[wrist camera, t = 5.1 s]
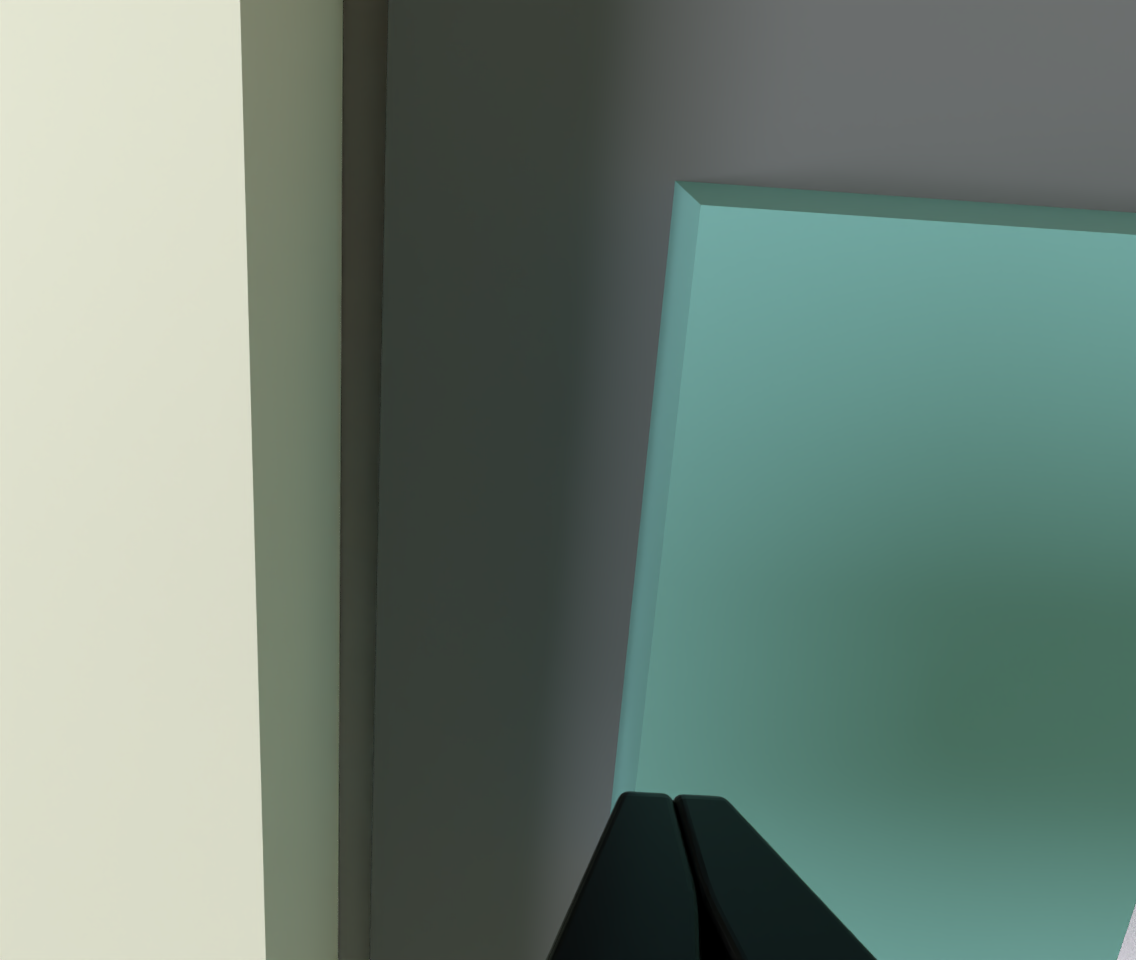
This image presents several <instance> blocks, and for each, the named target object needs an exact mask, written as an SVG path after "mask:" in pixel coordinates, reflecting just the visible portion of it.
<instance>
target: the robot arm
mask: <svg viewBox="0 0 1136 960" xmlns="http://www.w3.org/2000/svg"><path fill="white" fill-rule="evenodd" d="M546 960H877V959H876V958H875V957H874V956H873V955H872V954H871V953H870V951H869V950H868V949H867V948H866V947H865V946H864V945H863V944H862V943H861V942H860V941H859V940H858V939H857V938H856V937H855V935H854V934H853V933H852V932H851V931H850V930H849V929H848V928H847V927H846V926H845V925H844V924H843V923H842V922H841V920H840V919H839V918H838V917H837V916H836V915H835V914H834V913H833V912H832V911H831V910H830V909H829V908H828V907H827V905H826V904H825V903H824V902H823V901H822V900H821V899H820V898H819V897H818V896H817V895H816V894H815V893H814V892H813V891H812V889H811V888H810V887H809V886H808V885H807V884H806V883H805V882H804V881H803V880H802V879H801V878H800V877H799V876H798V874H797V873H796V872H795V871H794V870H793V869H792V868H791V867H790V866H789V865H788V864H787V863H786V862H785V861H784V860H783V858H782V857H781V856H780V855H779V854H778V853H777V852H776V851H775V850H774V849H773V848H772V847H771V846H770V845H769V843H768V842H767V841H766V840H765V839H764V838H763V837H762V836H761V835H760V834H759V833H758V832H757V831H756V830H755V829H754V827H753V826H752V825H751V824H750V823H749V822H748V821H747V820H746V819H745V818H744V817H743V816H742V815H741V814H740V812H739V811H738V810H737V809H736V808H735V807H734V806H733V805H732V804H731V803H730V802H729V801H728V800H727V799H725V798H723V797H721V796H711V795H691V794H679V795H677V796H676V797H675V798H674V800H672V798H671V797H670V796H668V795H667V794H665V793H653V792H634V791H626V792H623V793H622V794H621V795H620V796H619V797H618V799H617V801H616V804H615V806H614V808H613V810H612V813H611V815H610V817H609V819H608V822H607V824H606V826H605V828H604V830H603V833H602V835H601V837H600V839H599V842H598V844H597V846H596V848H595V851H594V853H593V855H592V857H591V860H590V862H589V864H588V866H587V869H586V871H585V873H584V875H583V878H582V880H581V882H580V884H579V886H578V889H577V891H576V893H575V895H574V898H573V900H572V902H571V904H570V907H569V909H568V911H567V913H566V916H565V918H564V920H563V922H562V925H561V927H560V929H559V931H558V933H557V936H556V938H555V940H554V942H553V945H552V947H551V949H550V951H549V954H548V956H547V958H546Z"/></svg>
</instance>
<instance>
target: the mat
mask: <svg viewBox="0 0 1136 960" xmlns="http://www.w3.org/2000/svg"><path fill="white" fill-rule="evenodd" d="M675 181H686V182H700V183H715V184H729V185H743V186H758V187H772V188H786V189H801V190H815V191H829V192H844V193H858V194H872V195H887V196H901V197H915V198H930V199H944V200H958V201H973V202H987V203H1002V204H1016V205H1030V206H1045V207H1059V208H1073V209H1088V210H1102V211H1116V212H1131V213H1136V0H388V46H387V98H386V149H385V201H384V253H383V304H382V356H381V408H380V459H379V511H378V563H377V615H376V666H375V718H374V770H373V821H372V873H371V925H370V960H546V958H547V956H548V954H549V951H550V949H551V947H552V945H553V942H554V940H555V938H556V936H557V933H558V931H559V929H560V927H561V925H562V922H563V920H564V918H565V916H566V913H567V911H568V909H569V907H570V904H571V902H572V900H573V898H574V895H575V893H576V891H577V889H578V886H579V884H580V882H581V880H582V878H583V875H584V873H585V871H586V869H587V866H588V864H589V862H590V860H591V857H592V855H593V853H594V851H595V848H596V846H597V844H598V842H599V839H600V837H601V835H602V833H603V830H604V828H605V826H606V824H607V822H608V819H609V817H610V811H611V801H612V792H613V782H614V772H615V762H616V753H617V743H618V733H619V723H620V714H621V704H622V694H623V684H624V675H625V665H626V655H627V645H628V636H629V626H630V616H631V606H632V597H633V587H634V577H635V567H636V558H637V548H638V538H639V528H640V519H641V509H642V499H643V489H644V480H645V470H646V460H647V450H648V441H649V431H650V421H651V411H652V401H653V392H654V382H655V372H656V362H657V353H658V343H659V333H660V323H661V314H662V304H663V294H664V284H665V275H666V265H667V255H668V245H669V236H670V226H671V216H672V206H673V197H674V187H675Z"/></svg>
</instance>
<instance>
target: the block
mask: <svg viewBox="0 0 1136 960" xmlns="http://www.w3.org/2000/svg"><path fill="white" fill-rule="evenodd" d="M626 791H634V792H653V793H665V794H667V795H668V796H670V797H671V798H672V800H674V798H675V797H676V796H677V795H679V794H691V795H711V796H721V797H723V798H725V799H727V800H728V801H729V802H730V803H731V804H732V805H733V806H734V807H735V808H736V809H737V810H738V811H739V812H740V814H741V815H742V816H743V817H744V818H745V819H746V820H747V821H748V822H749V823H750V824H751V825H752V826H753V827H754V829H755V830H756V831H757V832H758V833H759V834H760V835H761V836H762V837H763V838H764V839H765V840H766V841H767V842H768V843H769V845H770V846H771V847H772V848H773V849H774V850H775V851H776V852H777V853H778V854H779V855H780V856H781V857H782V858H783V860H784V861H785V862H786V863H787V864H788V865H789V866H790V867H791V868H792V869H793V870H794V871H795V872H796V873H797V874H798V876H799V877H800V878H801V879H802V880H803V881H804V882H805V883H806V884H807V885H808V886H809V887H810V888H811V889H812V891H813V892H814V893H815V894H816V895H817V896H818V897H819V898H820V899H821V900H822V901H823V902H824V903H825V904H826V905H827V907H828V908H829V909H830V910H831V911H832V912H833V913H834V914H835V915H836V916H837V917H838V918H839V919H840V920H841V922H842V923H843V924H844V925H845V926H846V927H847V928H848V929H849V930H850V931H851V932H852V933H853V934H854V935H855V937H856V938H857V939H858V940H859V941H860V942H861V943H862V944H863V945H864V946H865V947H866V948H867V949H868V950H869V951H870V953H871V954H872V955H873V956H874V957H875V958H876V959H877V960H1117V958H1118V955H1119V952H1120V949H1121V946H1122V943H1123V940H1124V937H1125V934H1126V931H1127V928H1128V925H1129V922H1130V919H1131V916H1132V913H1133V910H1134V907H1135V904H1136V213H1131V212H1116V211H1102V210H1088V209H1073V208H1059V207H1045V206H1030V205H1016V204H1002V203H987V202H973V201H958V200H944V199H930V198H915V197H901V196H887V195H872V194H858V193H844V192H829V191H815V190H801V189H786V188H772V187H758V186H743V185H729V184H715V183H700V182H686V181H675V187H674V197H673V206H672V216H671V226H670V236H669V245H668V255H667V265H666V275H665V284H664V294H663V304H662V314H661V323H660V333H659V343H658V353H657V362H656V372H655V382H654V392H653V401H652V411H651V421H650V431H649V441H648V450H647V460H646V470H645V480H644V489H643V499H642V509H641V519H640V528H639V538H638V548H637V558H636V567H635V577H634V587H633V597H632V606H631V616H630V626H629V636H628V645H627V655H626V665H625V675H624V684H623V694H622V704H621V714H620V723H619V733H618V743H617V753H616V762H615V772H614V782H613V792H612V801H611V811H610V815H611V813H612V810H613V808H614V806H615V804H616V801H617V799H618V797H619V796H620V795H621V794H622V793H623V792H626Z"/></svg>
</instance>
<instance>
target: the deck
mask: <svg viewBox="0 0 1136 960" xmlns="http://www.w3.org/2000/svg"><path fill="white" fill-rule="evenodd" d="M342 97H343V0H0V960H338V865H339V673H340V481H341V289H342Z"/></svg>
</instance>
